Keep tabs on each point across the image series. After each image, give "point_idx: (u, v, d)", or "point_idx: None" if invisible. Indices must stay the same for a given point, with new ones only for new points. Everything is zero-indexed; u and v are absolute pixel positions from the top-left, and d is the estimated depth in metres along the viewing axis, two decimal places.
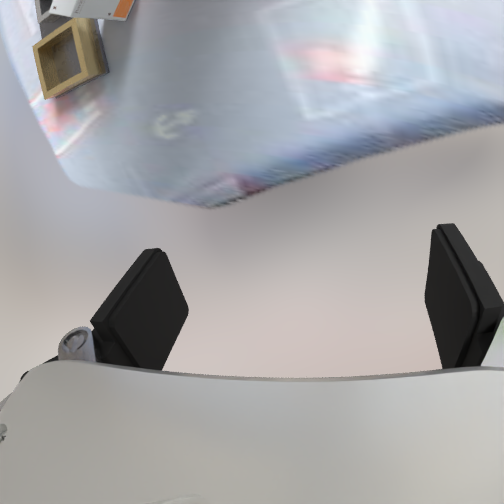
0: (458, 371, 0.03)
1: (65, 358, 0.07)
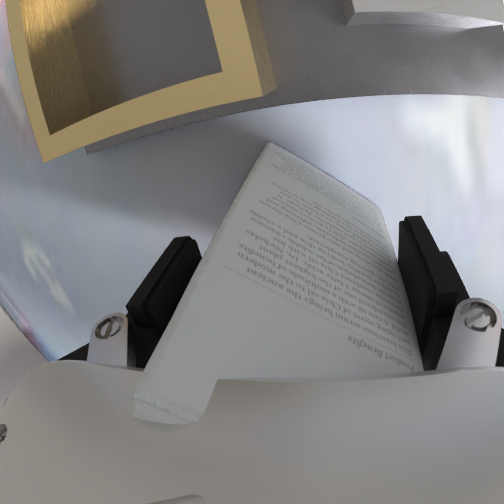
0: (458, 371, 0.03)
1: (100, 345, 0.07)
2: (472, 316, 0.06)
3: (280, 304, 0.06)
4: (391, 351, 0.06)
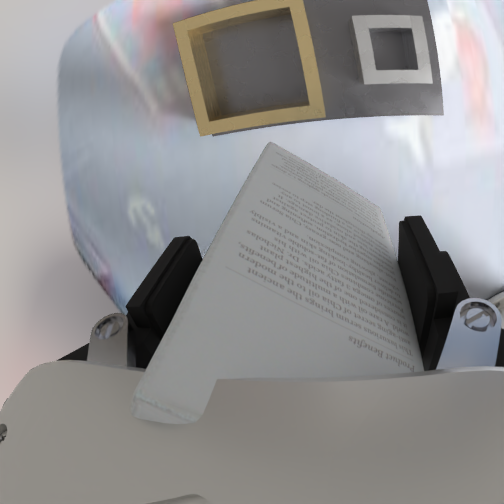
0: (458, 371, 0.03)
1: (100, 345, 0.07)
2: (472, 316, 0.06)
3: (281, 304, 0.06)
4: (391, 351, 0.06)
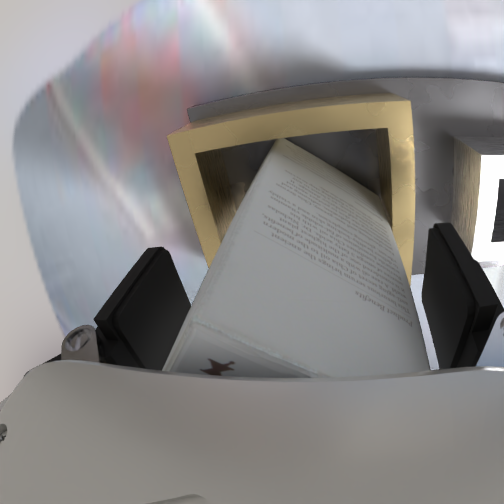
0: (458, 371, 0.03)
1: (68, 356, 0.07)
2: None
3: (299, 261, 0.07)
4: (392, 307, 0.08)
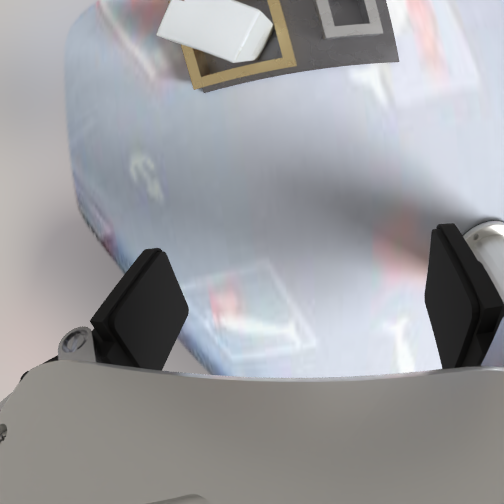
0: (458, 371, 0.03)
1: (65, 358, 0.07)
2: None
3: None
4: None
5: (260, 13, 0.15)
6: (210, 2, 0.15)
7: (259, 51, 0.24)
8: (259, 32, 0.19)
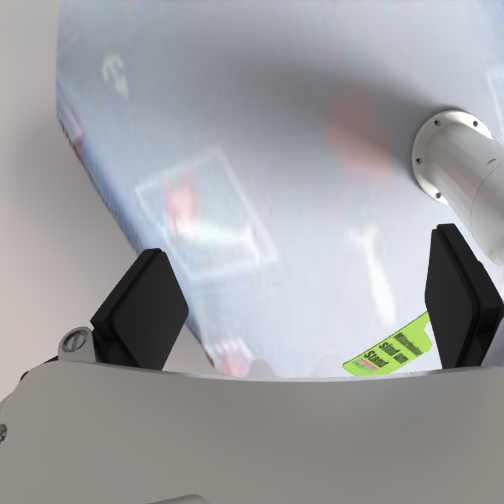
0: (458, 371, 0.03)
1: (65, 358, 0.07)
2: None
3: None
4: None
5: None
6: None
7: None
8: None
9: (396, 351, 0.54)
